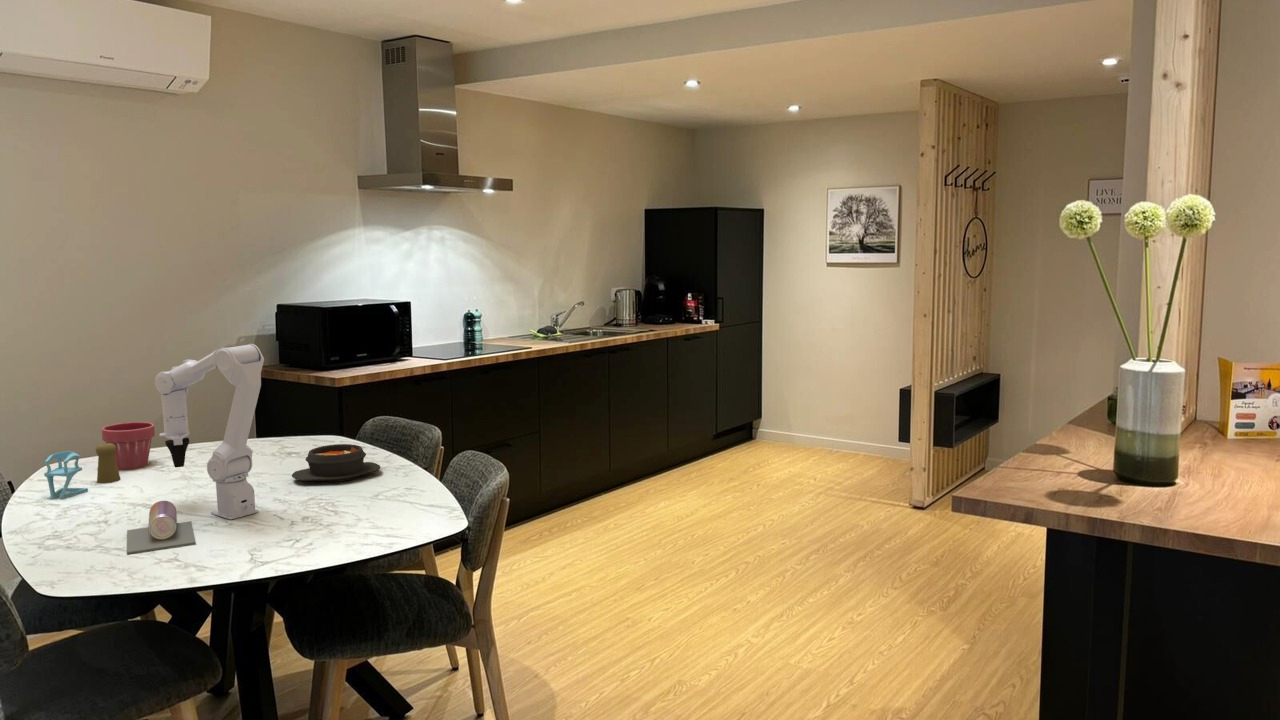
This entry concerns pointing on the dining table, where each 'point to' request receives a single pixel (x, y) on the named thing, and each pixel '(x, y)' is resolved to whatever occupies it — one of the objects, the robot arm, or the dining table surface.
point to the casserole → (335, 464)
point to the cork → (107, 463)
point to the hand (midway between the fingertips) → (179, 466)
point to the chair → (63, 474)
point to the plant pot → (130, 443)
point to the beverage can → (162, 520)
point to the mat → (146, 542)
